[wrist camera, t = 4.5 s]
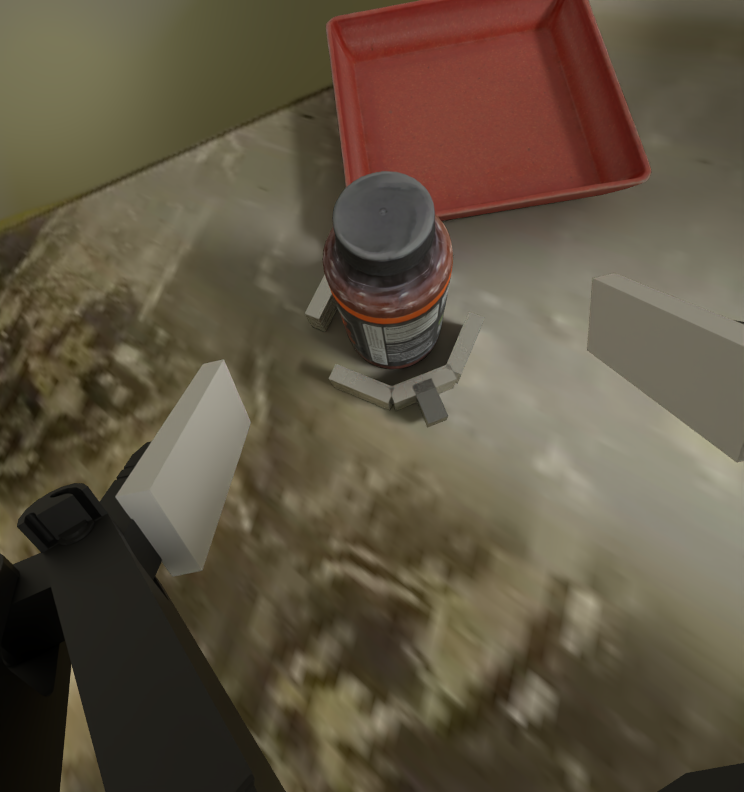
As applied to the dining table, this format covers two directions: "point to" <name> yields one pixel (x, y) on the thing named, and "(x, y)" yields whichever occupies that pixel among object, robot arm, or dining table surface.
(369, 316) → the supplement bottle
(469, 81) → the plant saucer
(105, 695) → the robot arm
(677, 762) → the dining table surface
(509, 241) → the dining table surface
